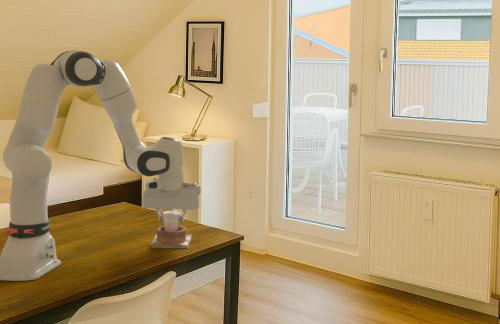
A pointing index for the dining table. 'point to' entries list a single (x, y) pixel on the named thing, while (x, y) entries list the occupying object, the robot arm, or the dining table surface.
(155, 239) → the bottle stand
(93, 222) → the dining table surface
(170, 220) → the smoothie
